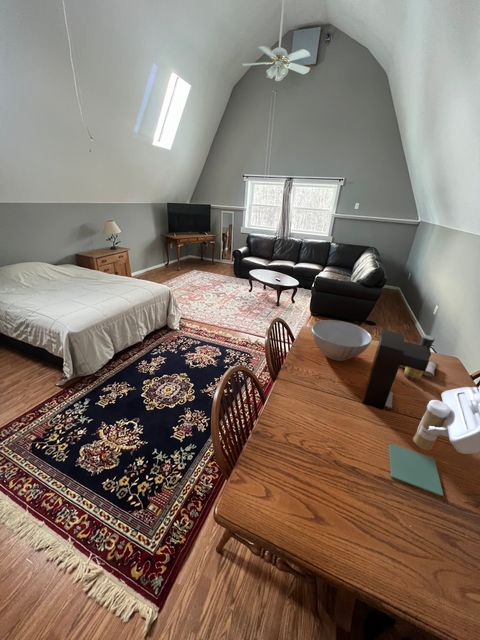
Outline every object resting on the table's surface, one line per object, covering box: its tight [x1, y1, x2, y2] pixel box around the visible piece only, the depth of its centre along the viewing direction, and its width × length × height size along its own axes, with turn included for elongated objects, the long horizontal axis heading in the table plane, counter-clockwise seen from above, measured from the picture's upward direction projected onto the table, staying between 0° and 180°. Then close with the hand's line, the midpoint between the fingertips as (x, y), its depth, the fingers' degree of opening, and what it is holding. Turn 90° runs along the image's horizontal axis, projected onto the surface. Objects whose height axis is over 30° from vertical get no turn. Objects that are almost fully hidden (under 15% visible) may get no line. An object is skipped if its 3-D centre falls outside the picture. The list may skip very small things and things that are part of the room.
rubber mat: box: [388, 443, 444, 498], centre depth 76 cm, size 12×12×1 cm
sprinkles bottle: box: [412, 399, 451, 451], centre depth 70 cm, size 5×5×13 cm
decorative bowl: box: [311, 319, 373, 362], centre depth 128 cm, size 27×27×12 cm
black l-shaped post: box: [362, 329, 430, 411], centre depth 96 cm, size 14×14×25 cm
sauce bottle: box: [403, 334, 436, 382], centre depth 111 cm, size 7×6×20 cm
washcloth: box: [399, 360, 437, 378], centre depth 124 cm, size 12×18×3 cm, turn 51°
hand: (428, 424), depth 70 cm, fingers closed on sprinkles bottle, 4 cm apart
